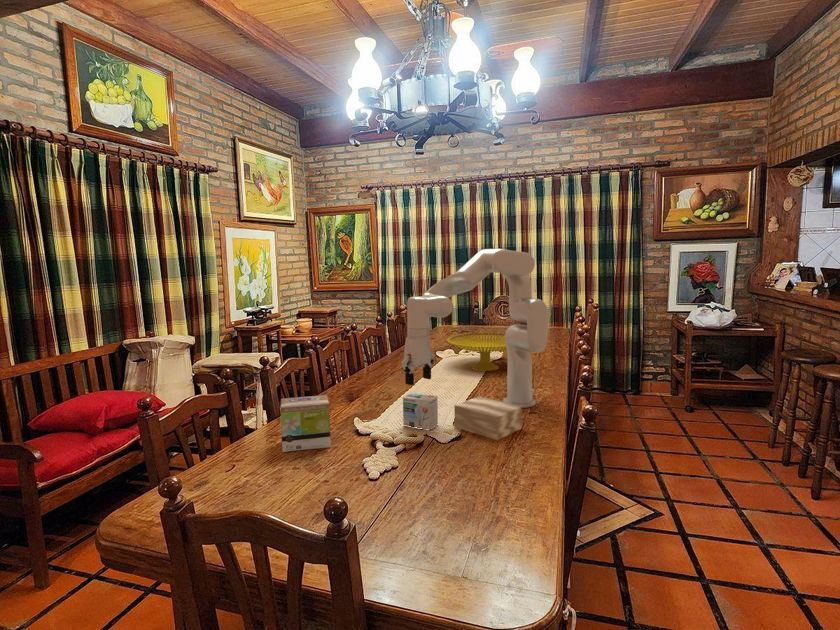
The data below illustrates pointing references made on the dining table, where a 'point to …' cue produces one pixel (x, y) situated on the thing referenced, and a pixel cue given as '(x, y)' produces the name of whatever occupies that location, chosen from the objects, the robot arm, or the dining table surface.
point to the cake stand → (481, 348)
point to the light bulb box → (420, 410)
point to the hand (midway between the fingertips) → (418, 381)
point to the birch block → (488, 417)
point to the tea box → (305, 423)
